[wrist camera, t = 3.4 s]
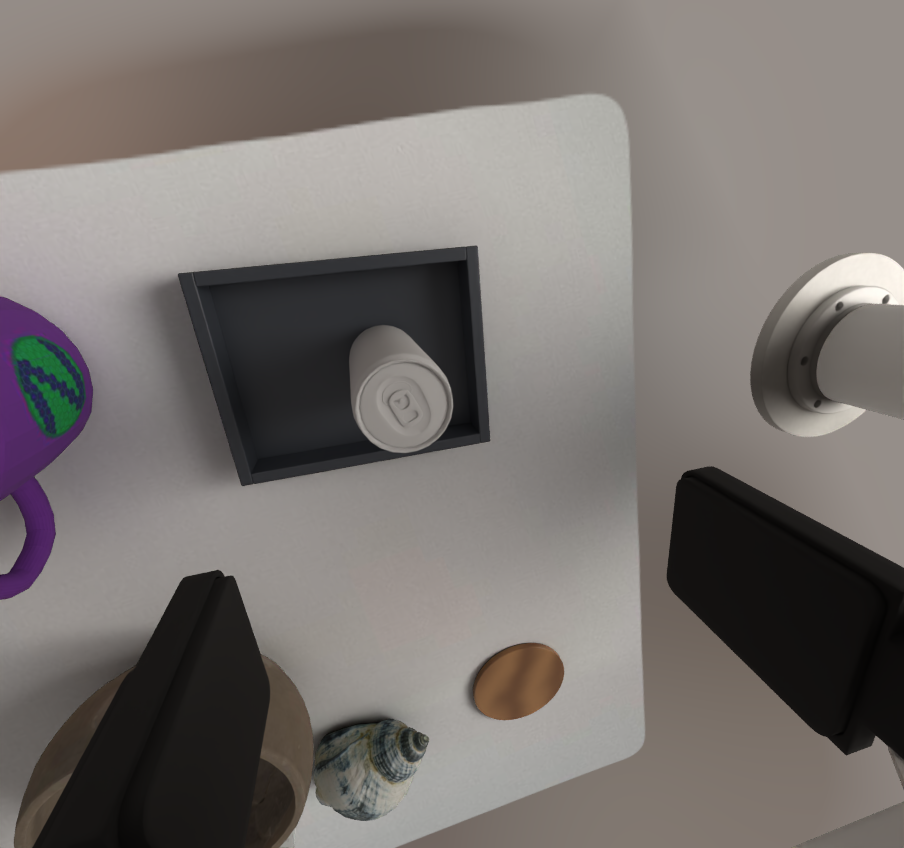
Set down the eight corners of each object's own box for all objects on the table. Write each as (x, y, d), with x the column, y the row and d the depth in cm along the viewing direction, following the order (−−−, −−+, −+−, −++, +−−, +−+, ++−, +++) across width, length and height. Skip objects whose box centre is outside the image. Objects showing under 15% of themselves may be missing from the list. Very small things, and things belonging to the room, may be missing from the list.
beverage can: (395, 310, 30) (425, 335, 19) (428, 369, 32) (473, 423, 21) (335, 345, 30) (330, 390, 19) (372, 402, 32) (386, 473, 21)
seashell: (304, 726, 43) (422, 689, 45) (320, 802, 43) (438, 762, 44) (289, 773, 37) (426, 727, 38) (307, 862, 36) (445, 812, 38)
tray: (466, 247, 30) (478, 245, 27) (479, 428, 35) (490, 441, 32) (193, 273, 27) (176, 273, 24) (250, 468, 32) (241, 486, 29)
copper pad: (561, 632, 45) (564, 636, 44) (561, 699, 48) (564, 704, 48) (469, 657, 43) (470, 662, 42) (476, 725, 47) (477, 731, 46)
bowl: (315, 748, 42) (307, 881, 33) (103, 779, 38) (25, 944, 29) (320, 606, 37) (312, 717, 28) (73, 622, 32) (-34, 762, 23)
